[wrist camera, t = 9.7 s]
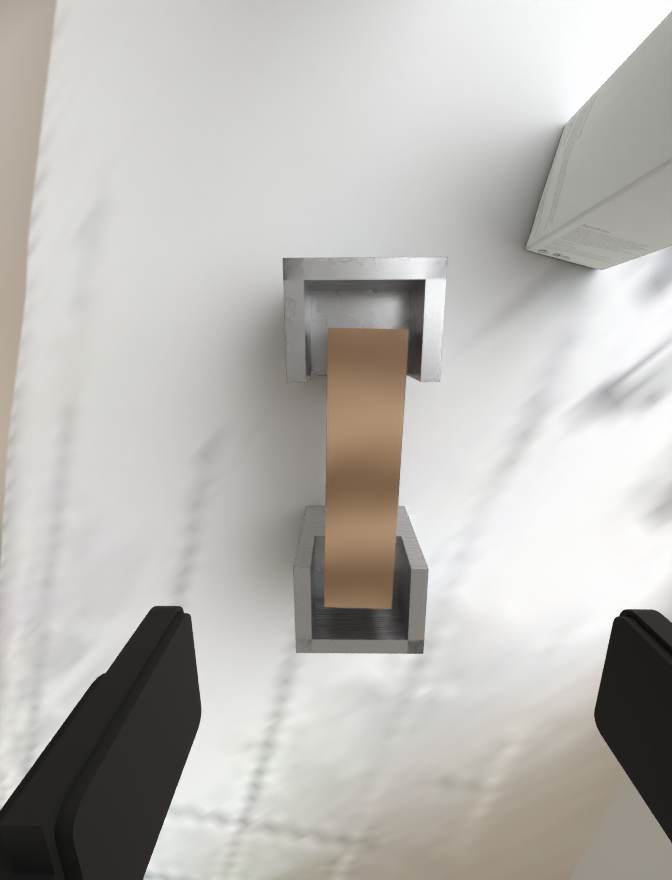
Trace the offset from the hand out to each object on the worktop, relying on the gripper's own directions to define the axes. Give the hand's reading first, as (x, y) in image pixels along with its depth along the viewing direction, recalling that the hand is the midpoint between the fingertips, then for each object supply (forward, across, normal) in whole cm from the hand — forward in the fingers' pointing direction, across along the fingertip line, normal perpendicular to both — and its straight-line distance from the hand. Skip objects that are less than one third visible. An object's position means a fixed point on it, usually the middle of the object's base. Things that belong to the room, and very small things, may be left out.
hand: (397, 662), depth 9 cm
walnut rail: (+17, 0, +1) cm, 17 cm away
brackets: (+22, 0, +1) cm, 22 cm away
